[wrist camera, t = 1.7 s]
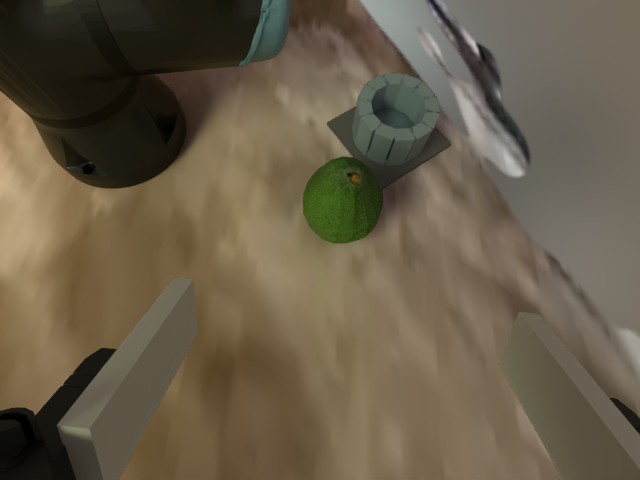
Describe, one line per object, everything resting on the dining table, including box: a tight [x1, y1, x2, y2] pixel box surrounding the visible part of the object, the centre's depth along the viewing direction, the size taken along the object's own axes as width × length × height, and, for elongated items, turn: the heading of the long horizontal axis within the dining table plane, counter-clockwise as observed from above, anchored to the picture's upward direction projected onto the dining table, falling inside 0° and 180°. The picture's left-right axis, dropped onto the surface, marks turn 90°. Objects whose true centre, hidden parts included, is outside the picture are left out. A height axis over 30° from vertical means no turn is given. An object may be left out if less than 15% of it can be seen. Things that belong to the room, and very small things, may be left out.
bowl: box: [352, 73, 440, 165], centre depth 42 cm, size 9×9×5 cm
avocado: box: [303, 157, 383, 243], centre depth 35 cm, size 8×8×12 cm
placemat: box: [327, 107, 451, 189], centre depth 44 cm, size 11×11×1 cm
